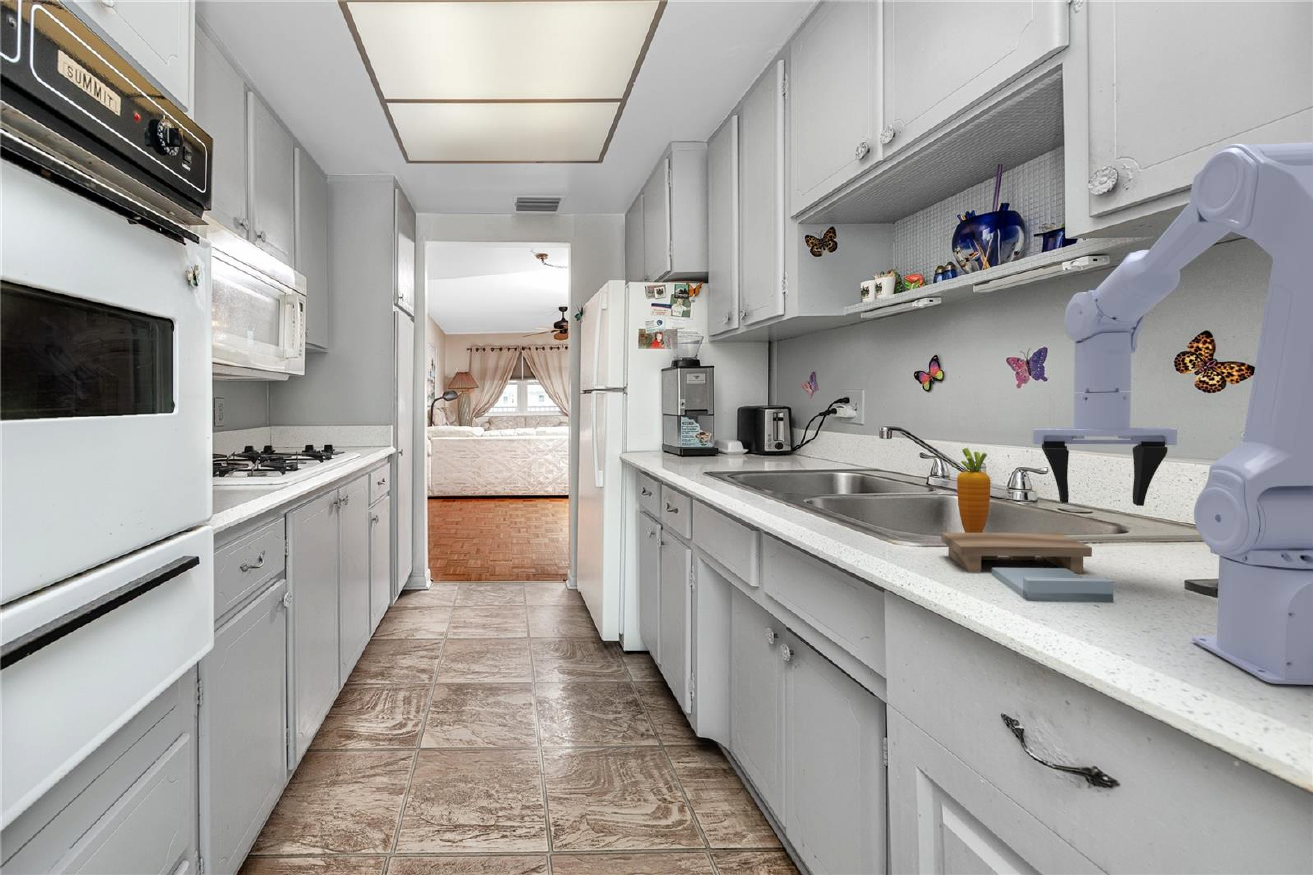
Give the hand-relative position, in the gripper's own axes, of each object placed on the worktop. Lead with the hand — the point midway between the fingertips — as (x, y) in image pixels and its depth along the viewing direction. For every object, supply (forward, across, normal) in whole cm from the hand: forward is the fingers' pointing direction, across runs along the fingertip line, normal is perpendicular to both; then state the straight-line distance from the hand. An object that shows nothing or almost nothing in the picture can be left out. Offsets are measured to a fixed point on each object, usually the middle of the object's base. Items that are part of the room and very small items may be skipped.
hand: (1100, 503), depth 81 cm
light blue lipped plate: (+10, +6, +5) cm, 13 cm away
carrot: (+10, +14, -18) cm, 24 cm away
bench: (+10, +9, -6) cm, 15 cm away
